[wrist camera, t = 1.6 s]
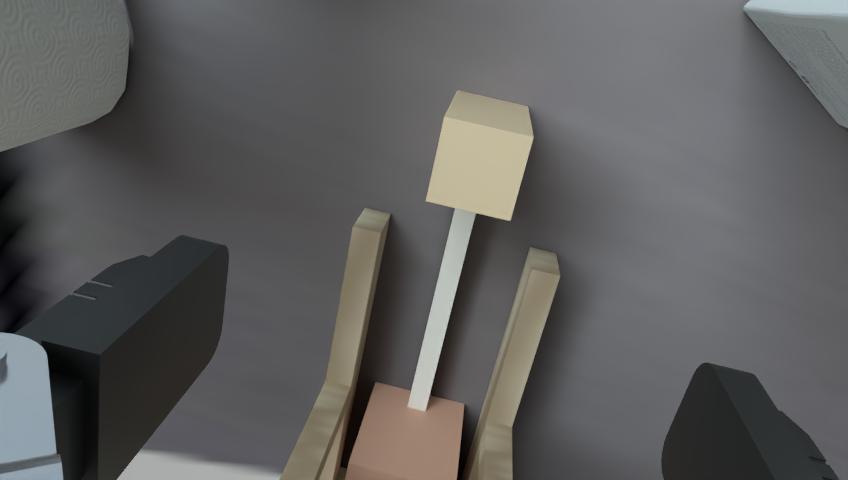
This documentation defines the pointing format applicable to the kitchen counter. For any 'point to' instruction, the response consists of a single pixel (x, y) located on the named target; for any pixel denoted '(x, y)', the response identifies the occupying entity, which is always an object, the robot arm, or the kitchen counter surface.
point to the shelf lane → (329, 419)
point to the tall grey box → (59, 65)
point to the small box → (810, 45)
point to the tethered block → (446, 290)
